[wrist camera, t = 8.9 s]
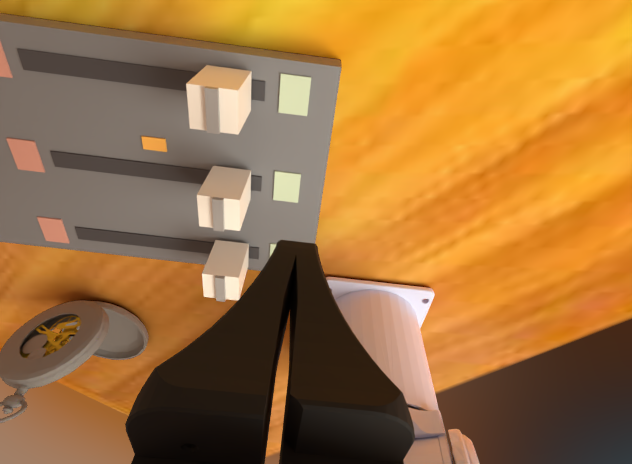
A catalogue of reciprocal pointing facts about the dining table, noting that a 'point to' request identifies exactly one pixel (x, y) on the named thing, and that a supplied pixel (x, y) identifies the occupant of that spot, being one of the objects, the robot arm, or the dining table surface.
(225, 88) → the handle
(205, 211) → the handle
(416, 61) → the dining table surface
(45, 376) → the pocket watch
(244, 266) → the handle
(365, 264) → the dining table surface
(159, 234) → the panel
